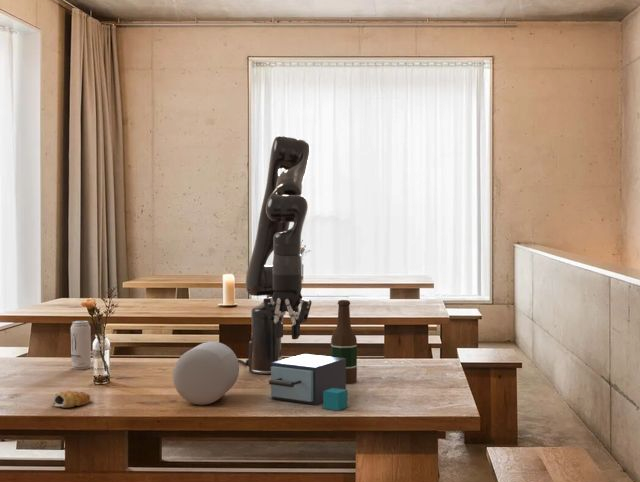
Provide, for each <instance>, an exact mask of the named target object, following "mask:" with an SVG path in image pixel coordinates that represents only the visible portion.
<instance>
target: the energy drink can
mask: <svg viewBox="0 0 640 482" xmlns="http://www.w3.org/2000/svg"><path fill="white" fill-rule="evenodd" d="M91 339H92V337H91V325H90V323H89V320H74V321H72V324H71V326H70V357H71V359H70V361H71V362H70V363H71V365H70V366H71V367H72V368H73V370H78V371H80V370H81V371H82V370H88V369H90V367H91V366H92V342H91V341H92V340H91Z"/></svg>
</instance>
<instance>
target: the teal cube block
mask: <svg viewBox="0 0 640 482" xmlns="http://www.w3.org/2000/svg"><path fill="white" fill-rule="evenodd" d="M322 403H323V405H322V406H323V409H325V410H330V411H331V410H332V411H341V410H344V409H346V408H348V389H346V390H345V389H337V388H331V389H328V390H325V391H323V402H322Z"/></svg>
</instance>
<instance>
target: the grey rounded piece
mask: <svg viewBox="0 0 640 482" xmlns="http://www.w3.org/2000/svg"><path fill="white" fill-rule="evenodd" d="M177 359H178V360H177V361H176V362H175V364H174V368H173V370H172V382H173V386H174V389H175V390H176V392H177V393H178V394H179V396H180V397H181V398H182V399H183V400H185V401H186V402H188V403H190V404H193V405H197V406H206V405H210V404H212V403H215V402H216V401H218V400H219V399H221V398H222V397H223V396H224V395H226V393H227V392H228V391H230V390H231V389H232V388H233V387H234V386H235V384H236V382H237V381H238V378H239V376H240V375H239V373H240V362H238V360H237V359H238V357H237V355H236V353H235V352H234V351H233V350H232V348H230V347H229V346H227V344H224V343H222V342H219V341H218V342H217V341H205V342H202V343H200V344H198V345H196V346H194V347H192V348H191V349H189V350H187V351H186V352H184V353H183V354H181V356H180V357H179V358H177ZM159 395H162V393H161V392H160V393H159ZM163 395H164V396H166V394H163ZM170 399H172V401H173V402H174V400H175V399H173V397H172V396H171V397H170Z"/></svg>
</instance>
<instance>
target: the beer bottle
mask: <svg viewBox="0 0 640 482" xmlns="http://www.w3.org/2000/svg"><path fill="white" fill-rule="evenodd" d="M337 305H338V310H337V324H336V328H335V329H334V331H333V332H332V335H331V338H330V339H331V340H330V357H338V358H346V385H348V384H353V383H356V382H357V380H358V379H357V377H358V340H357V336H356V334H355V331H354V329H352V324H351V312H350V305H351V301H350V300H348V299H340V300H338V301H337Z"/></svg>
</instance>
